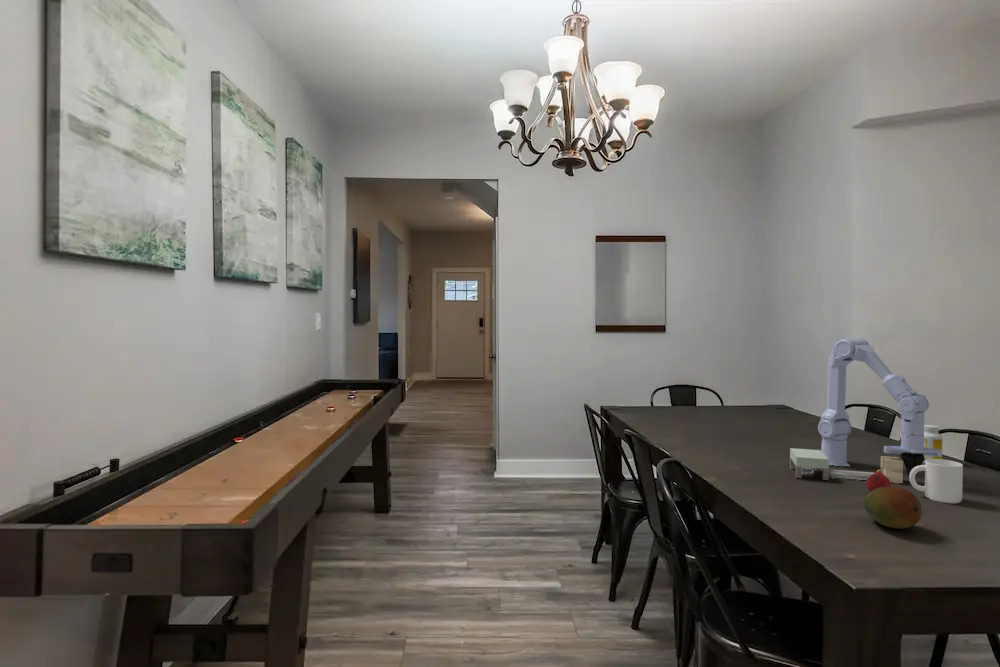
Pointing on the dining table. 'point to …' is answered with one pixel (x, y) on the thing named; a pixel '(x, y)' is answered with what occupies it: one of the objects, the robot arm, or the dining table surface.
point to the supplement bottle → (932, 440)
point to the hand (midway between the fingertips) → (911, 477)
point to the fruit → (893, 507)
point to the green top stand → (809, 461)
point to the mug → (940, 480)
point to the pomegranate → (877, 481)
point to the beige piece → (889, 468)
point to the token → (807, 471)
